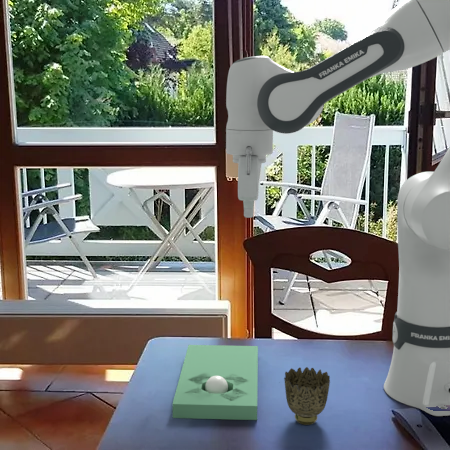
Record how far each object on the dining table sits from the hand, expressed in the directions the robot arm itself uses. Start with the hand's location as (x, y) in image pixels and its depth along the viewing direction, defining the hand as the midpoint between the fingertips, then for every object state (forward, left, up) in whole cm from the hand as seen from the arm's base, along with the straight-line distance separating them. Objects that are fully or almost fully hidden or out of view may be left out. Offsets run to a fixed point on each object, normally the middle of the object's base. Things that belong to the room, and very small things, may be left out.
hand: (248, 216), depth 132 cm
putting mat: (+5, +13, -29) cm, 32 cm away
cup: (-10, +26, -29) cm, 40 cm away
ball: (+5, +18, -27) cm, 33 cm away
